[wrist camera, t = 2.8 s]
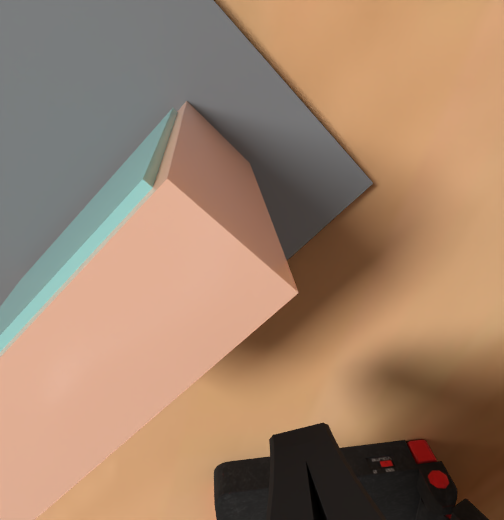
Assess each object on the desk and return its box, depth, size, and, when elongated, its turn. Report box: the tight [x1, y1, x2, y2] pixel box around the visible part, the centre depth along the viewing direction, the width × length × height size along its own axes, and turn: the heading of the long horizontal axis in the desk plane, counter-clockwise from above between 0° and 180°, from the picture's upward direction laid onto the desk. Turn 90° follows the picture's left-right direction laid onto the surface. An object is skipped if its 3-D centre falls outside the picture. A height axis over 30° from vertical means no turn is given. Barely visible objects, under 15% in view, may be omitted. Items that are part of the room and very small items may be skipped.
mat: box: [0, 0, 373, 306], centre depth 11 cm, size 14×12×1 cm
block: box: [0, 101, 299, 520], centre depth 9 cm, size 2×7×6 cm, turn 135°
